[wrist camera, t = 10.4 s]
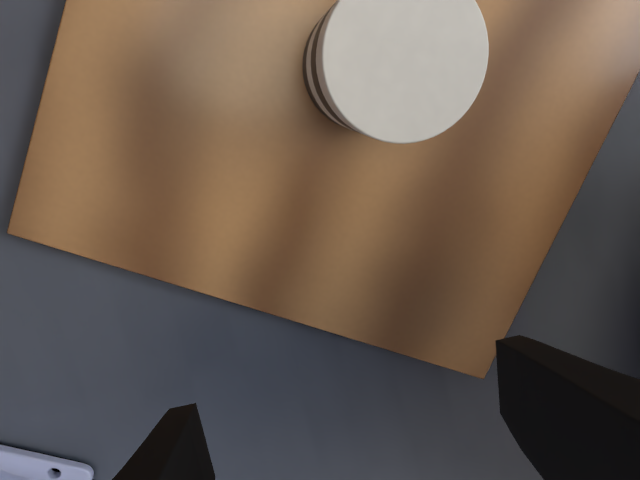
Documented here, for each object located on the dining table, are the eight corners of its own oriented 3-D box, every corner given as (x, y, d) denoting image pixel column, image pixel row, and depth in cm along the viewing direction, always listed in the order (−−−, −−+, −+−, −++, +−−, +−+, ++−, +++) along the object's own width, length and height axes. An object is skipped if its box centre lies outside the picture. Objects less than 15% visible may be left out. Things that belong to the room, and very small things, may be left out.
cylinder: (442, 30, 18) (518, 6, 13) (394, 146, 19) (446, 167, 14) (329, -22, 17) (361, -72, 12) (284, 103, 18) (296, 107, 13)
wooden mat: (710, -91, 19) (724, -96, 18) (478, 372, 23) (483, 380, 23) (176, -407, 15) (173, -427, 14) (13, 229, 19) (5, 233, 18)
